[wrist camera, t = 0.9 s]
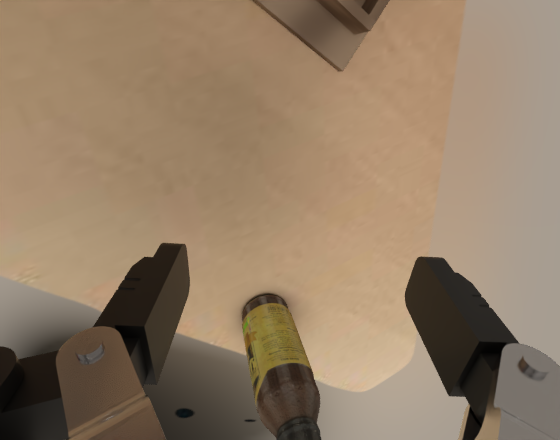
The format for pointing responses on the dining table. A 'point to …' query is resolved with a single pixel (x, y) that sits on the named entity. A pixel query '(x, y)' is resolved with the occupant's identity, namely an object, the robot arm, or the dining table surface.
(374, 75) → the dining table surface
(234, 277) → the dining table surface
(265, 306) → the sauce bottle
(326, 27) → the walnut organizer
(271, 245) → the dining table surface
